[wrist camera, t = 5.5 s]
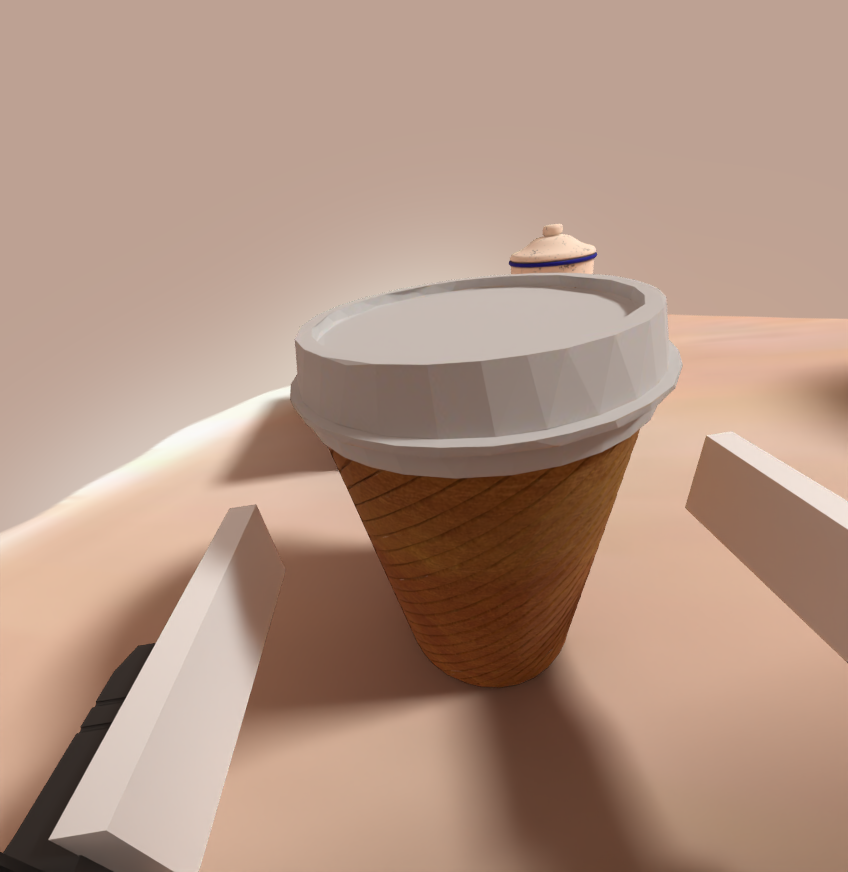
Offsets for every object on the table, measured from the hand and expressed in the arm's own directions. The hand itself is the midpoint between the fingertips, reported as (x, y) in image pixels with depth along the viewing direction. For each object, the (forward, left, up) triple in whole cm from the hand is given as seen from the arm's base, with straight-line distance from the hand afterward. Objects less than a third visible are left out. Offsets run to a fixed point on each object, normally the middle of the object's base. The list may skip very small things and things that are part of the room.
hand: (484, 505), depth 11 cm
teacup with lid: (-15, -34, -7) cm, 38 cm away
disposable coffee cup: (0, -1, -7) cm, 7 cm away
